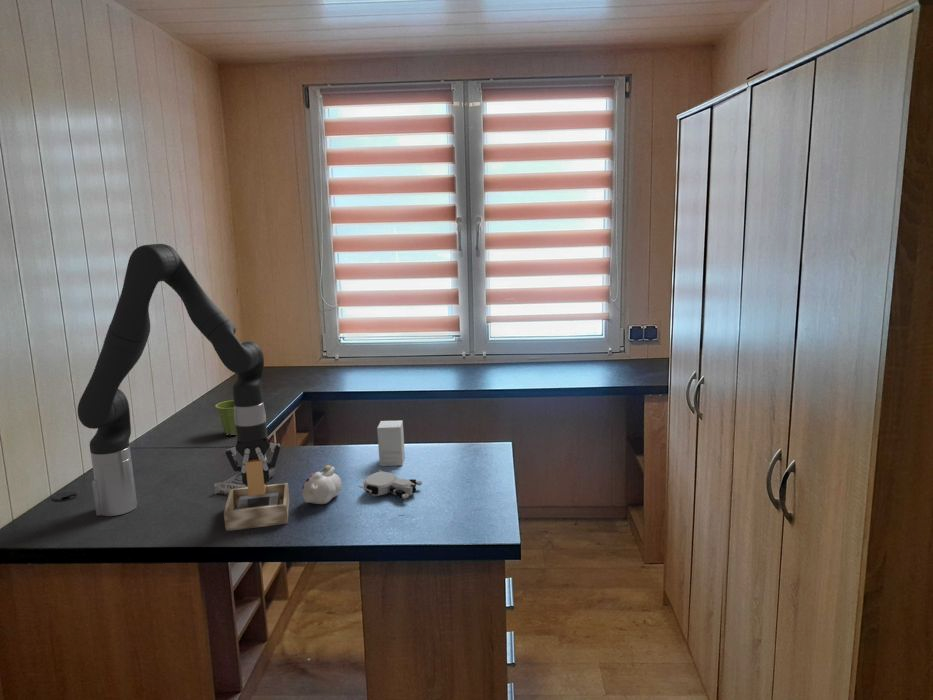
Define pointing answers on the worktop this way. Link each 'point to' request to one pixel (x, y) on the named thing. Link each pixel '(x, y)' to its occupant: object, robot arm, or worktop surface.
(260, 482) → the orange rectangular block
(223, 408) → the plant pot
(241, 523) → the walled box
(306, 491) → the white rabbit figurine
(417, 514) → the worktop surface
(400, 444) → the supplement box
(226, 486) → the graphics card
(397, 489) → the robot toy
